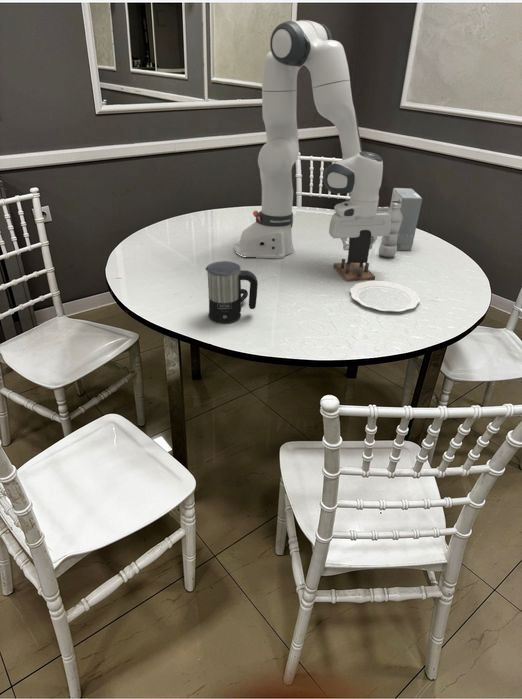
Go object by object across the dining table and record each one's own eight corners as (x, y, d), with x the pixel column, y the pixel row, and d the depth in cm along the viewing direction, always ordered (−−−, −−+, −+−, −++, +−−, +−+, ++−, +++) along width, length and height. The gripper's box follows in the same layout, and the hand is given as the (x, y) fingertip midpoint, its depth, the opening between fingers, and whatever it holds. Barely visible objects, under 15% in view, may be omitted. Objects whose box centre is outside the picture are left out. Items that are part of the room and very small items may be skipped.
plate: (406, 322, 134) (407, 317, 133) (338, 303, 143) (339, 298, 142) (426, 296, 149) (427, 291, 148) (364, 279, 158) (365, 275, 157)
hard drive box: (411, 251, 180) (423, 198, 170) (391, 250, 181) (401, 198, 170) (402, 237, 194) (412, 187, 183) (383, 236, 194) (392, 187, 183)
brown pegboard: (346, 281, 155) (348, 269, 153) (333, 266, 166) (334, 254, 164) (374, 279, 157) (376, 268, 155) (360, 264, 168) (362, 253, 165)
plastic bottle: (397, 254, 177) (407, 201, 166) (393, 260, 172) (404, 205, 161) (380, 251, 179) (389, 198, 168) (375, 257, 174) (385, 203, 163)
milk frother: (213, 326, 128) (211, 276, 120) (197, 301, 140) (195, 254, 132) (261, 318, 133) (263, 269, 125) (242, 294, 145) (242, 248, 137)
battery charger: (366, 259, 160) (371, 226, 154) (368, 263, 157) (372, 230, 151) (345, 258, 161) (349, 225, 154) (346, 263, 158) (351, 229, 151)
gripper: (389, 203, 154) (382, 244, 161) (329, 205, 150) (325, 247, 157) (397, 209, 148) (390, 251, 156) (336, 211, 145) (331, 254, 152)
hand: (357, 249), depth 157 cm, fingers closed on battery charger, 7 cm apart
